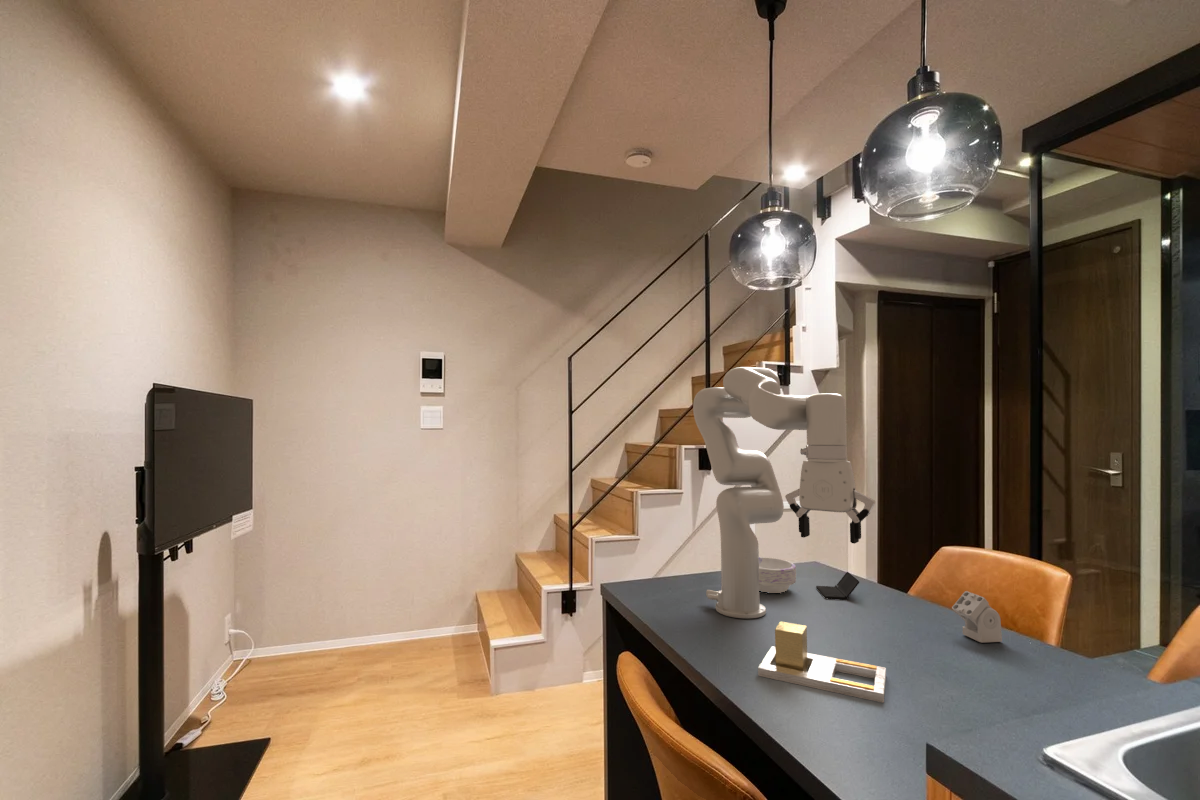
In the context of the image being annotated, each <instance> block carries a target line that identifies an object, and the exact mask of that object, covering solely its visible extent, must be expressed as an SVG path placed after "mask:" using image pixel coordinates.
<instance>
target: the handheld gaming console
mask: <svg viewBox="0 0 1200 800" xmlns="http://www.w3.org/2000/svg"><path fill="white" fill-rule="evenodd" d="M859 584H860V581H859V580H858V579H857V578H856V577H855V576H854V575H852V574H851V573H850V572H849V571H846V572H845V574H844V575H843V576H842V578H841V579H840V580H839V581H838V582H837V583H836V584H835V585H834V586H830V585H826V586H825V585H816V586H815V587H816V588H817V589H818V590H819V591H820V592H819V591H818V590H817V589H816V590H817V591H818V592H819V593H820V594H822V595H823V596H824V597H825V598H828V599H827V600H835V599H842V601H848V600H849V596H850V595H851V594H852V593H853V591H854V590H855V589H856V588H857V586H858V585H859ZM822 595H821V596H822ZM823 596H822V597H823ZM824 597H823V598H824ZM825 598H824V599H825Z"/></svg>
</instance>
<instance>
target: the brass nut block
mask: <svg viewBox="0 0 1200 800" xmlns="http://www.w3.org/2000/svg"><path fill="white" fill-rule="evenodd" d="M807 629H808V627H807V625H804V624H803V625H802V624H799V623H798V624H797V623H792V622H785V621H779V623H778V624H777V625H776V628H775V629H774V639H775V640H774V644H775V645H774V647H775V657H776V662H775V666H779V667H784V668H789V669H794V670H799V671H804V672H807V670H808V667H809V666H808V665H807V653H808V633H807V632H808V630H807Z"/></svg>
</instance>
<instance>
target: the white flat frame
mask: <svg viewBox="0 0 1200 800" xmlns="http://www.w3.org/2000/svg"><path fill="white" fill-rule="evenodd" d="M807 667H809V669H808V671H806V672H804V671H799V670H794V669H789V668H784V667H779V666H776V657H775V646H770V648H769V650H768V651H767V653H766V655H764V658H763V659H762V661H761V663H760V664H759V665H758V667H757V676H758V677H761V678H766V679H772V680H776V681H780V682H785V683H791V684H795V685H799V686H803V687H808V688H813V689H818V690H822V691H827V692H832V693H837V694H840V695H846V696H850V697H853V698H854V697H855V698H859V699H864V700H869V701H873V702H876V703H883V704H884V702H885V695H886V694H885V692H886V681H887V668H886V667H884V666H878V665H873V664H868V663H863V662H858V661H853V660H849V659H848V660H847V659H842V658H836V657H832V656H826V655H820V654H815V653H809V652H807ZM836 672H840V673H843V674H849V675H853V676H860V677H864V678H869V679H874V685H873V684H872V685H871V684H868V683H862V682H856V681H853V680H847V679H843V678H842V679H841V678H837V677H835V675H836Z"/></svg>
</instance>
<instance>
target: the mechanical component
mask: <svg viewBox="0 0 1200 800" xmlns="http://www.w3.org/2000/svg"><path fill="white" fill-rule="evenodd" d="M951 609H952V610H953V611H954V612H955V613H956V614H957V615H958V616H959V617H960V618H961V619H962V620H963V621H964V623H965V624H964V626H963V625H962V635H964V636H966V637H968V638H970V639H972V640H975V641H977V642H979V643H1002V642H1003V634H1002V624H1001V621H1002V619H1001V616H1000V614H999V612H997V610H995V609H994V608H992V607H991V606H990V604H989V601H988V600H987V599H986V597H983V596H981V595H979V594H977V593H973V592H970V591H968V590H966V591H964V592H963V593H962V594H961V596H960V597H959V598H958V599H957V601H956V602H955V603H954V604H953V605H952V606H951Z"/></svg>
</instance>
